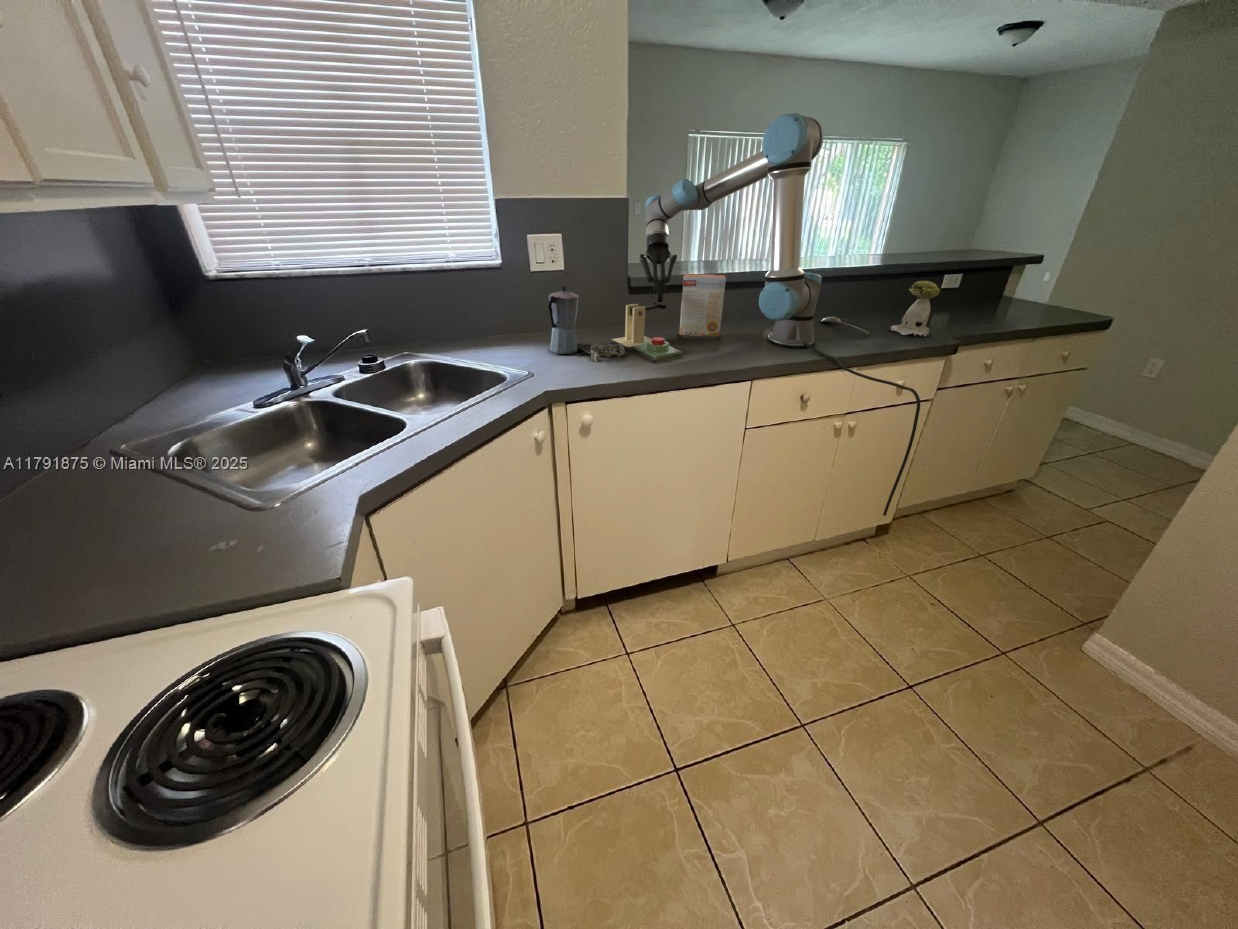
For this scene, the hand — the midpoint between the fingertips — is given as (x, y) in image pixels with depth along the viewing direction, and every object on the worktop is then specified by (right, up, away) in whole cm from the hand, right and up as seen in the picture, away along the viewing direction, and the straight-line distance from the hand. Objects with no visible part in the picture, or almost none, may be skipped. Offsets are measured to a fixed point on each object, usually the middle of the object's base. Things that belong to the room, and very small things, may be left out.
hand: (660, 299), depth 161 cm
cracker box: (+15, -10, +12) cm, 21 cm away
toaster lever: (-4, -4, 0) cm, 6 cm away
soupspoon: (+73, -2, +26) cm, 78 cm away
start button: (-1, -17, -8) cm, 19 cm away
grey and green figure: (+96, -5, +23) cm, 99 cm away
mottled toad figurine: (-17, -21, -9) cm, 29 cm away
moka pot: (-31, -18, -5) cm, 37 cm away
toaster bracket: (-9, -14, +3) cm, 17 cm away
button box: (-2, -20, -7) cm, 21 cm away
